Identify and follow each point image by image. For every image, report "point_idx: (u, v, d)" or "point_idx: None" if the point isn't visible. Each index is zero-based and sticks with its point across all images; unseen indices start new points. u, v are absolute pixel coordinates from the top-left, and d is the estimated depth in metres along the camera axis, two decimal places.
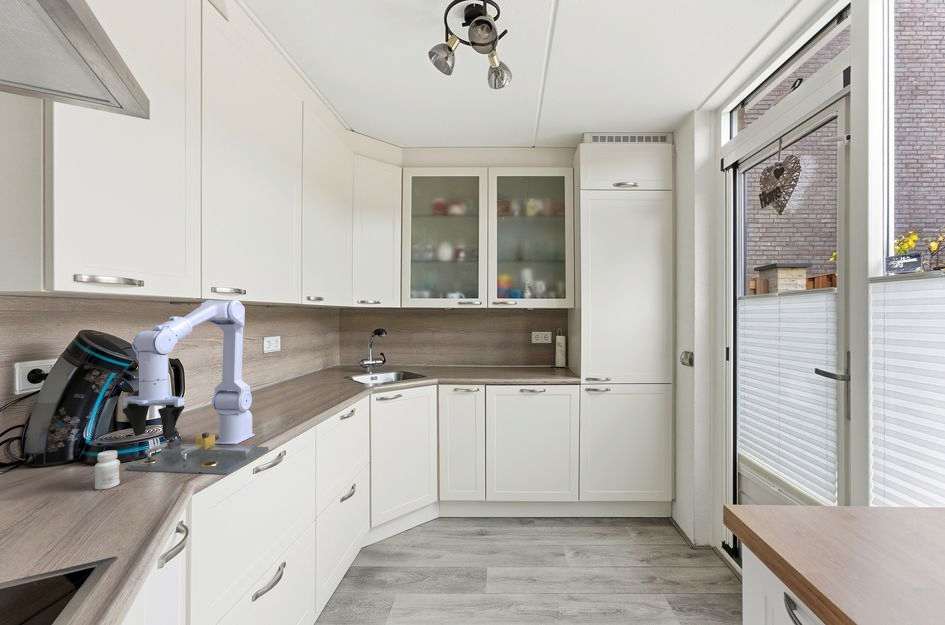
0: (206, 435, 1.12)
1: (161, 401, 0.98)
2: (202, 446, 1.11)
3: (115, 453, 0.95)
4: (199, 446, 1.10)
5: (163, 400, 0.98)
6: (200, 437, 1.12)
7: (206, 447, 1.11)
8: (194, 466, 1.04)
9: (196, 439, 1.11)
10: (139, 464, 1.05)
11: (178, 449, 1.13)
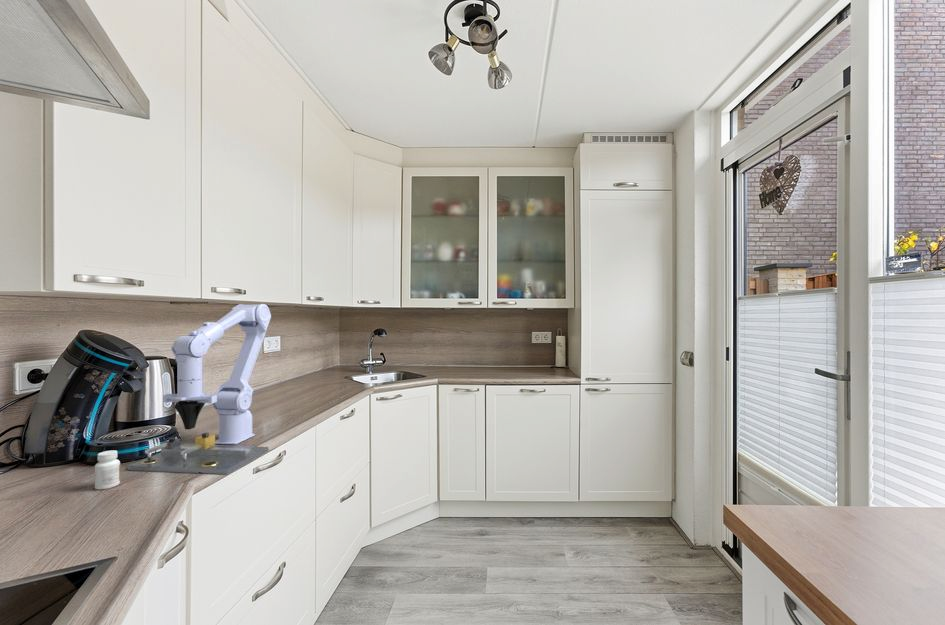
0: (206, 435, 1.12)
1: (197, 398, 1.11)
2: (202, 446, 1.11)
3: (115, 453, 0.95)
4: (199, 446, 1.10)
5: (199, 397, 1.11)
6: (200, 437, 1.12)
7: (206, 447, 1.11)
8: (194, 466, 1.04)
9: (196, 439, 1.11)
10: (139, 464, 1.05)
11: (178, 449, 1.13)
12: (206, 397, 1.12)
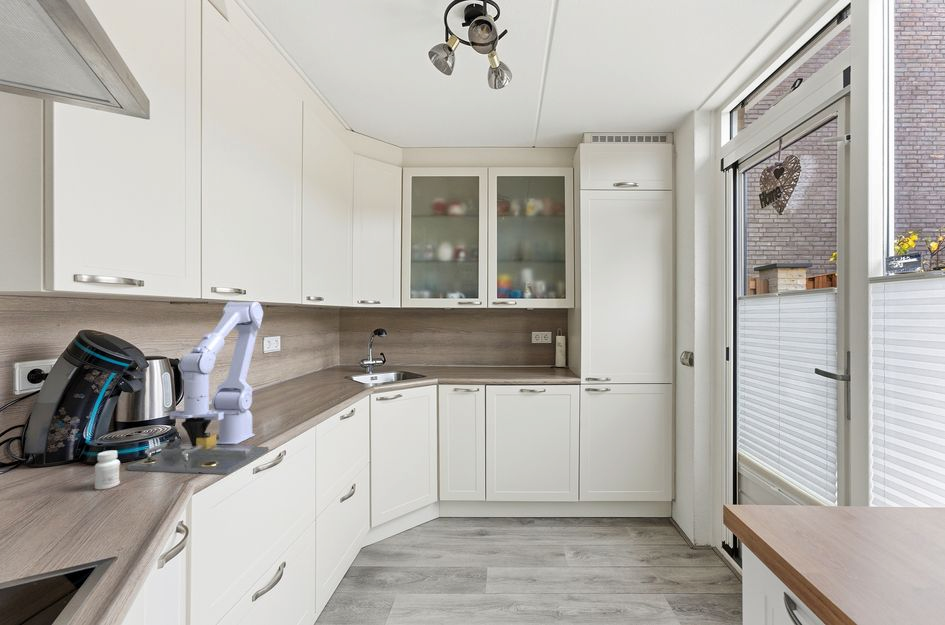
0: (207, 435, 1.12)
1: (204, 415, 1.11)
2: (203, 446, 1.11)
3: (115, 453, 0.95)
4: (200, 446, 1.10)
5: (205, 414, 1.11)
6: (201, 437, 1.12)
7: (207, 447, 1.11)
8: (194, 466, 1.04)
9: (197, 439, 1.11)
10: (139, 464, 1.05)
11: (178, 449, 1.13)
12: (213, 414, 1.11)
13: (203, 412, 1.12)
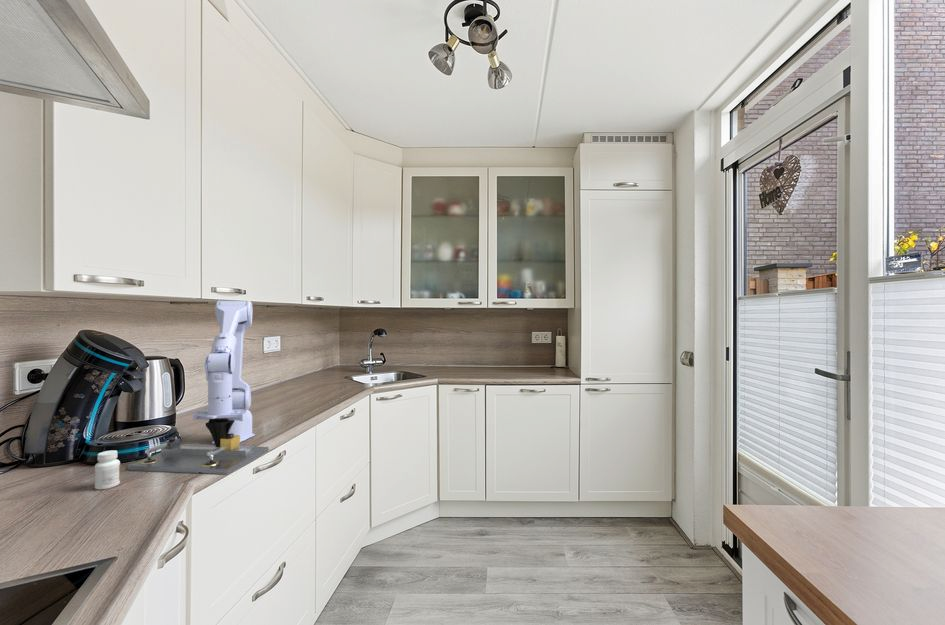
0: (231, 436, 1.12)
1: (228, 416, 1.10)
2: (227, 447, 1.10)
3: (115, 453, 0.95)
4: (225, 447, 1.09)
5: (230, 415, 1.10)
6: (225, 438, 1.11)
7: (231, 448, 1.11)
8: (194, 466, 1.04)
9: (221, 440, 1.10)
10: (139, 464, 1.05)
11: (178, 449, 1.13)
12: (237, 415, 1.11)
13: (227, 413, 1.11)
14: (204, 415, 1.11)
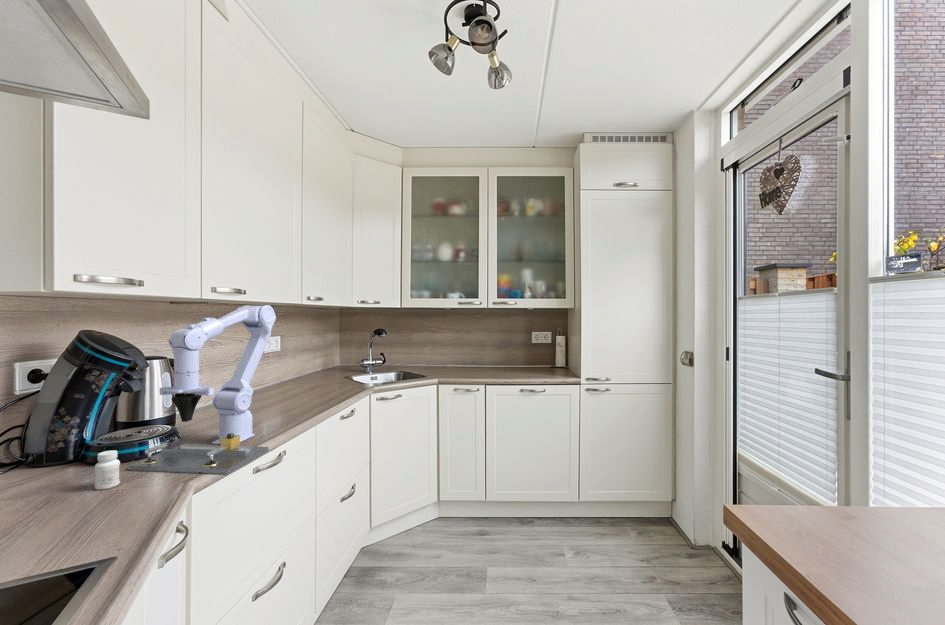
0: (231, 436, 1.12)
1: (194, 390, 1.12)
2: (227, 447, 1.10)
3: (115, 453, 0.95)
4: (225, 447, 1.09)
5: (196, 390, 1.12)
6: (225, 438, 1.11)
7: (231, 448, 1.11)
8: (194, 466, 1.04)
9: (221, 440, 1.10)
10: (139, 464, 1.05)
11: (178, 449, 1.13)
12: (203, 389, 1.13)
13: (193, 387, 1.13)
14: (170, 390, 1.12)
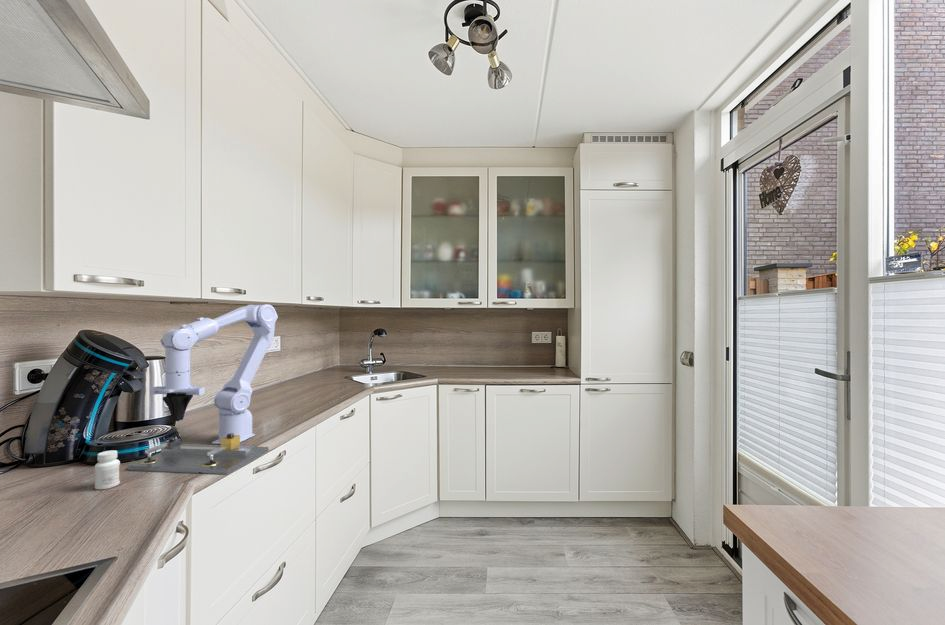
0: (231, 436, 1.12)
1: (185, 390, 1.12)
2: (227, 447, 1.10)
3: (115, 453, 0.95)
4: (225, 447, 1.09)
5: (186, 389, 1.13)
6: (225, 438, 1.11)
7: (231, 448, 1.11)
8: (194, 466, 1.04)
9: (221, 440, 1.10)
10: (139, 464, 1.05)
11: (178, 449, 1.13)
12: (194, 389, 1.13)
13: (184, 387, 1.14)
14: (161, 389, 1.13)
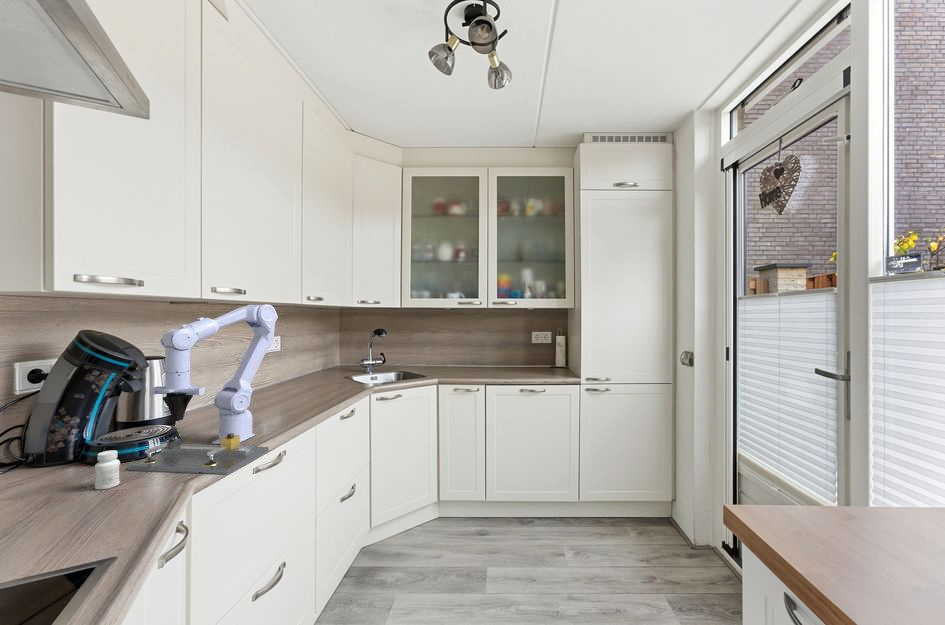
0: (231, 436, 1.12)
1: (185, 390, 1.12)
2: (227, 447, 1.10)
3: (115, 453, 0.95)
4: (225, 447, 1.09)
5: (186, 389, 1.13)
6: (225, 438, 1.11)
7: (231, 448, 1.11)
8: (194, 466, 1.04)
9: (221, 440, 1.10)
10: (139, 464, 1.05)
11: (178, 449, 1.13)
12: (194, 389, 1.13)
13: (184, 387, 1.14)
14: (161, 389, 1.13)
